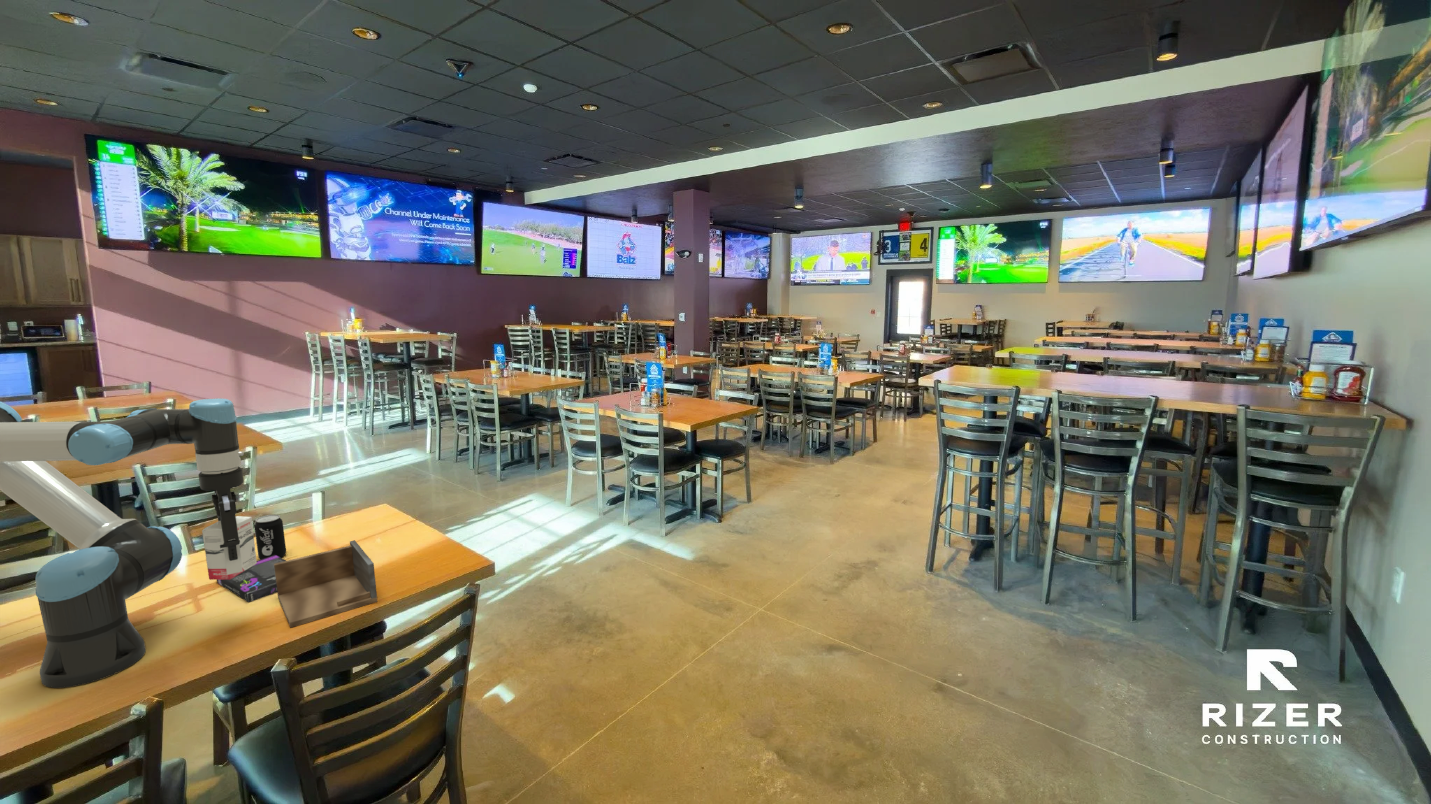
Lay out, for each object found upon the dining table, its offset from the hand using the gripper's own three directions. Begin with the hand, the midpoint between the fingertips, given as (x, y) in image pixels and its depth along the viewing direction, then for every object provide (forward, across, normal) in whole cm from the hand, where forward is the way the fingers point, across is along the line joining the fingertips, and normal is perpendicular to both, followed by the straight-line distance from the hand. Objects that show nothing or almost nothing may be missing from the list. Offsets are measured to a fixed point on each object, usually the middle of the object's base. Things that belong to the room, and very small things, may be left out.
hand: (232, 565), depth 138 cm
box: (+16, +23, -7) cm, 29 cm away
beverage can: (+15, +40, -11) cm, 44 cm away
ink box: (+2, 0, 0) cm, 2 cm away
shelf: (+15, +1, -17) cm, 23 cm away
